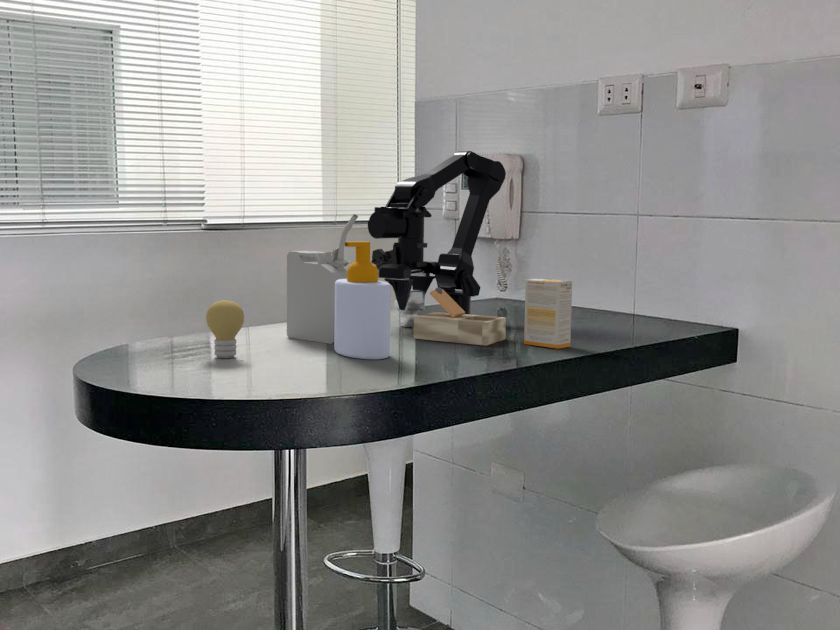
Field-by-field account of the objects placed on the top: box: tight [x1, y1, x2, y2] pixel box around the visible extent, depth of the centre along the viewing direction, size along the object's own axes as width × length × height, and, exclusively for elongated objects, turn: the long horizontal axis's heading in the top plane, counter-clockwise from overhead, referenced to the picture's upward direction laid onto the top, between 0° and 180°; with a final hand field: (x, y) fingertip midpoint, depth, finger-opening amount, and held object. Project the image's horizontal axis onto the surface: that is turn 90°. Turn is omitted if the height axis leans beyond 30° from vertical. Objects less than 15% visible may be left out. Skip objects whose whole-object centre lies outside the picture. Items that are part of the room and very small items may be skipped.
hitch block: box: [413, 311, 507, 346], centre depth 181 cm, size 10×16×4 cm, turn 63°
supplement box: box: [523, 277, 573, 350], centre depth 174 cm, size 8×5×13 cm, turn 47°
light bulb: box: [205, 299, 245, 359], centre depth 154 cm, size 6×6×10 cm
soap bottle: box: [333, 241, 392, 361], centre depth 160 cm, size 13×8×20 cm, turn 37°
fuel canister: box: [286, 213, 359, 345], centre depth 175 cm, size 15×5×25 cm, turn 53°
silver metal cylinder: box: [394, 288, 426, 328], centre depth 198 cm, size 7×7×8 cm
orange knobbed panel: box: [429, 286, 465, 317], centre depth 182 cm, size 7×5×2 cm
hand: (409, 308), depth 198 cm, fingers closed on silver metal cylinder, 7 cm apart
